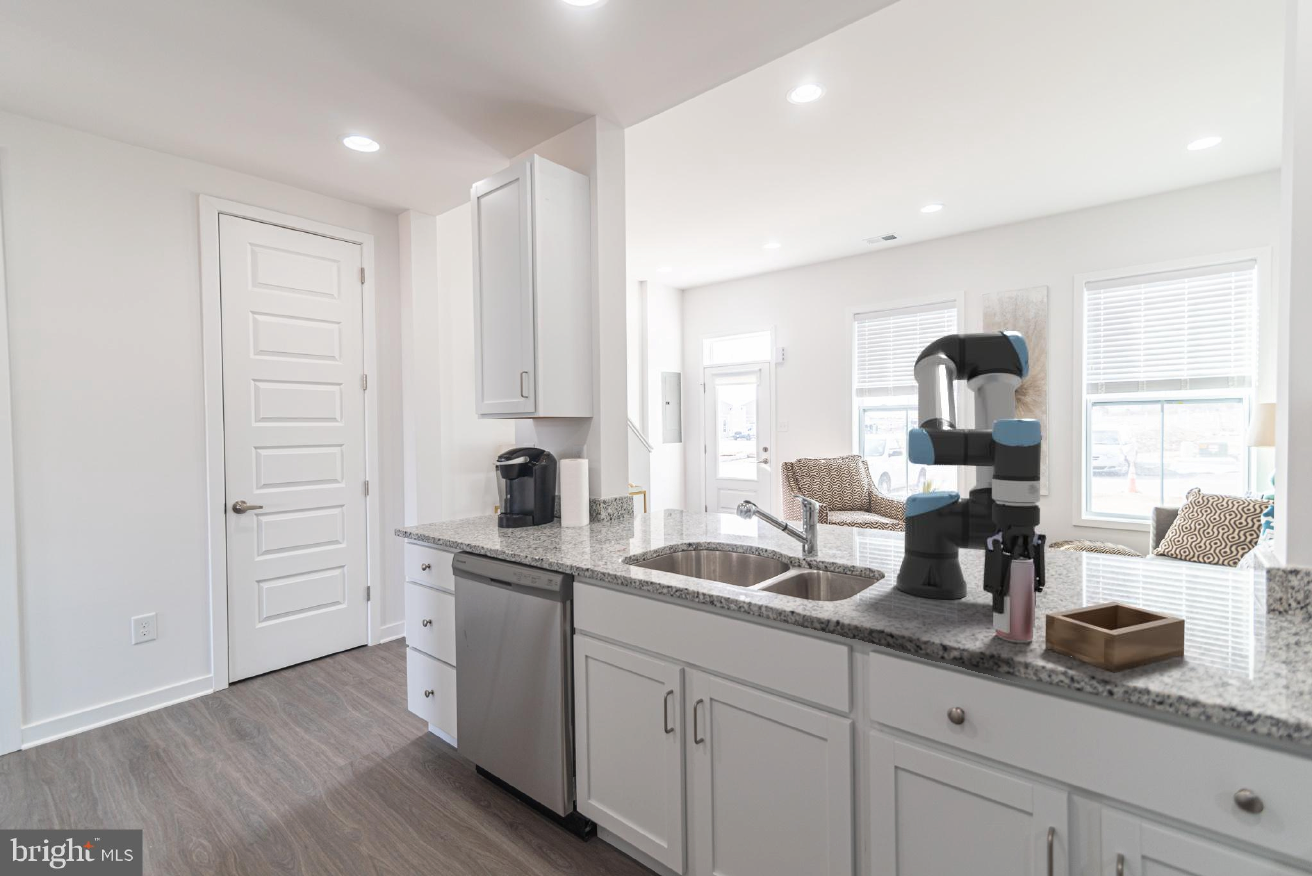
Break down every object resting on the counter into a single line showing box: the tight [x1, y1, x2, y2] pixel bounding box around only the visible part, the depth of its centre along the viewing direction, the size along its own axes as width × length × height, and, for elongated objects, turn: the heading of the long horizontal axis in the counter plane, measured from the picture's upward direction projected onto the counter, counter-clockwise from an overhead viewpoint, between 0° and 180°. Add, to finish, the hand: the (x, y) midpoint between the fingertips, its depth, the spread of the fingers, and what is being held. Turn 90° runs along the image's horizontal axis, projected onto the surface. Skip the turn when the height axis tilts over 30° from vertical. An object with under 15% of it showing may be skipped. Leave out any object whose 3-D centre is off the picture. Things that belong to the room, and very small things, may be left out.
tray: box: [1044, 601, 1186, 673], centre depth 102 cm, size 11×19×6 cm, turn 112°
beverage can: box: [994, 556, 1034, 644], centre depth 108 cm, size 6×6×15 cm
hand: (1014, 627), depth 108 cm, fingers closed on beverage can, 6 cm apart
